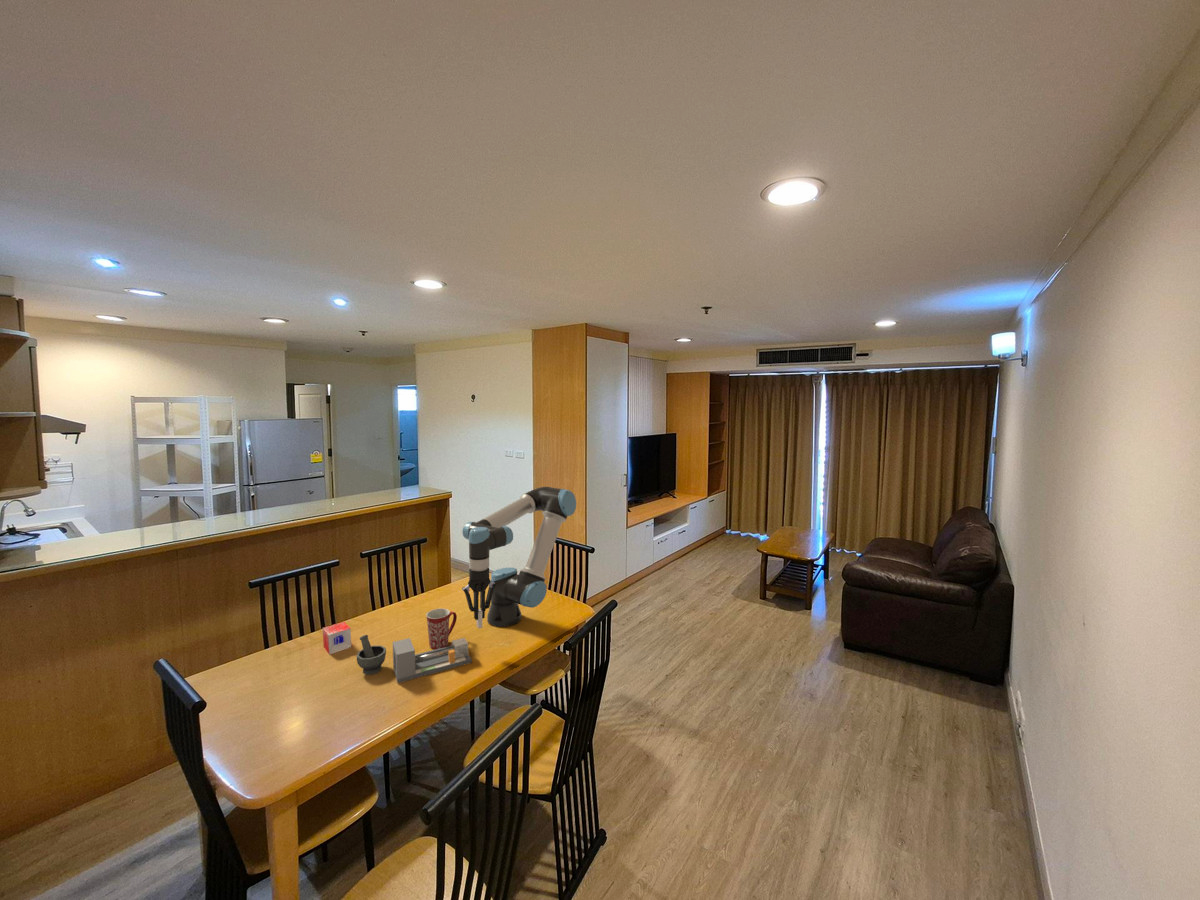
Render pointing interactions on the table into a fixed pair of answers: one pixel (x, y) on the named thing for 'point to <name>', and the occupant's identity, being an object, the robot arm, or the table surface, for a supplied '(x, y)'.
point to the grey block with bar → (458, 646)
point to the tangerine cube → (451, 656)
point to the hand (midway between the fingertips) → (479, 626)
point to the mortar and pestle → (370, 657)
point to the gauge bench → (410, 669)
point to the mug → (439, 627)
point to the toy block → (336, 637)
